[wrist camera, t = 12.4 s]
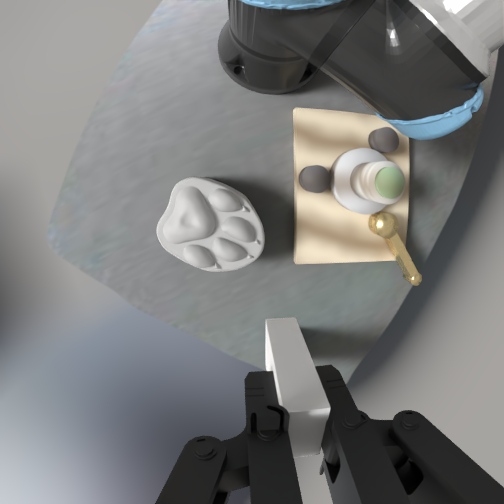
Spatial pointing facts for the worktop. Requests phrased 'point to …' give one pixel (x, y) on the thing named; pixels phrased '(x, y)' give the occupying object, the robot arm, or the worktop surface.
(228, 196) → the paw-shaped mold
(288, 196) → the worktop surface
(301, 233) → the base
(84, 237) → the worktop surface
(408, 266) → the brass ball lever
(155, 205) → the worktop surface
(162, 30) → the worktop surface
